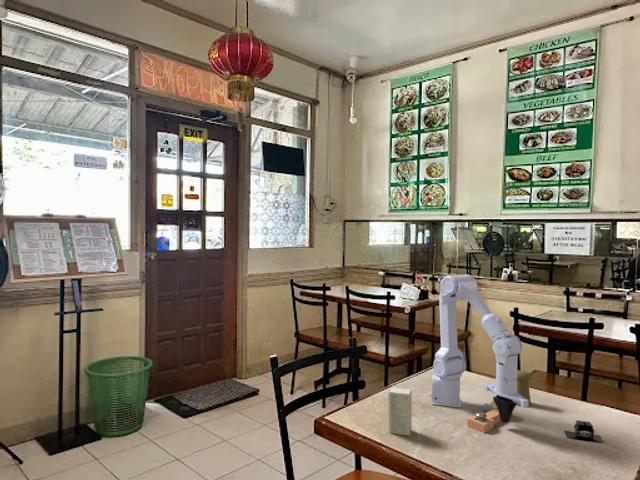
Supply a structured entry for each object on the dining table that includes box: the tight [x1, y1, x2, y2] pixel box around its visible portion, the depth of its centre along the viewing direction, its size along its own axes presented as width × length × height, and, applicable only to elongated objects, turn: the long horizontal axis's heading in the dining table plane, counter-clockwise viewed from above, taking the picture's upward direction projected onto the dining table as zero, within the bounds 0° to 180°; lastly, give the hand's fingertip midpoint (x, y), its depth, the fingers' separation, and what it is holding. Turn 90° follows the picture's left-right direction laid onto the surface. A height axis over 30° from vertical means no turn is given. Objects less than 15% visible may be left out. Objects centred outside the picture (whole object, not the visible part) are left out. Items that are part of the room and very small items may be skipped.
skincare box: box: [388, 386, 413, 436], centre depth 129 cm, size 6×4×12 cm
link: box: [467, 407, 501, 434], centre depth 136 cm, size 16×5×2 cm, turn 130°
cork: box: [516, 369, 532, 407], centre depth 152 cm, size 6×6×11 cm
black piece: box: [563, 420, 605, 444], centre depth 128 cm, size 12×7×5 cm, turn 72°
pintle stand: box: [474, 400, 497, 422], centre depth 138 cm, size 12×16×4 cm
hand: (504, 421), depth 132 cm, fingers closed
